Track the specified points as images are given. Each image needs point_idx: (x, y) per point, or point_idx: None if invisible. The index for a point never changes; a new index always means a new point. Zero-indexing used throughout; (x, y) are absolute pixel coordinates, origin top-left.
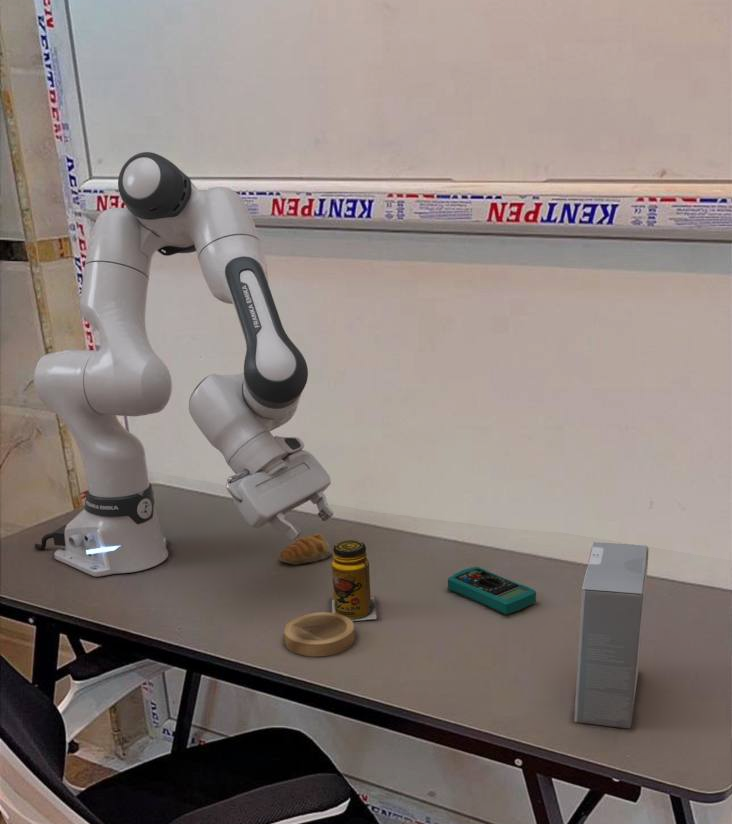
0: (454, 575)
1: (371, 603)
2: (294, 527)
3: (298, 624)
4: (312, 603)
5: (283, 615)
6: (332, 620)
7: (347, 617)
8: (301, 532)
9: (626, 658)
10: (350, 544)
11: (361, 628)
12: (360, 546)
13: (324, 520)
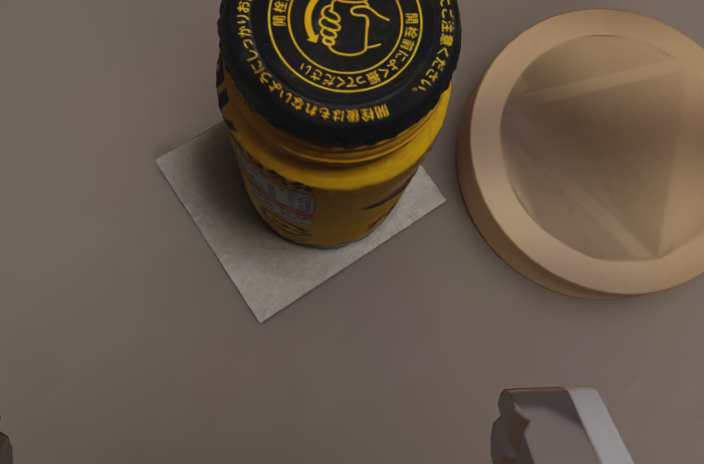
0: None
1: (218, 142)
2: (583, 443)
3: (643, 237)
4: (327, 388)
5: None
6: (534, 131)
7: (477, 91)
8: (505, 389)
9: None
10: (307, 30)
11: None
12: None
13: (8, 455)
